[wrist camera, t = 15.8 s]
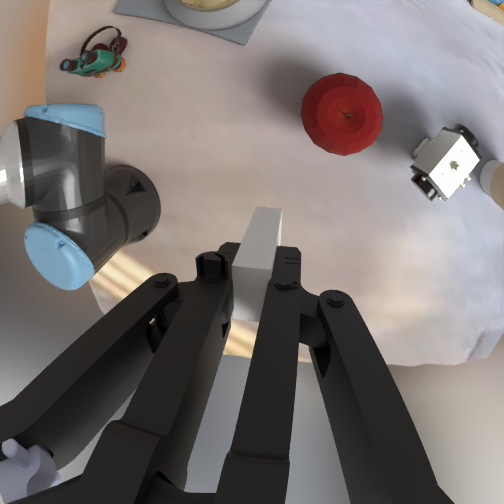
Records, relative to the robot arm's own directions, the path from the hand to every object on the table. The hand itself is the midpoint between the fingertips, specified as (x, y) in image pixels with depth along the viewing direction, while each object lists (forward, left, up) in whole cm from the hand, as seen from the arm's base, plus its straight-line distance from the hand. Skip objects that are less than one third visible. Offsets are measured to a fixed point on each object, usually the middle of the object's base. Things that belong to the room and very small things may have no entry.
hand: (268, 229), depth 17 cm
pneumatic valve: (+23, +3, -30) cm, 38 cm away
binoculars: (-32, +20, -30) cm, 48 cm away
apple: (+7, +7, -30) cm, 31 cm away
